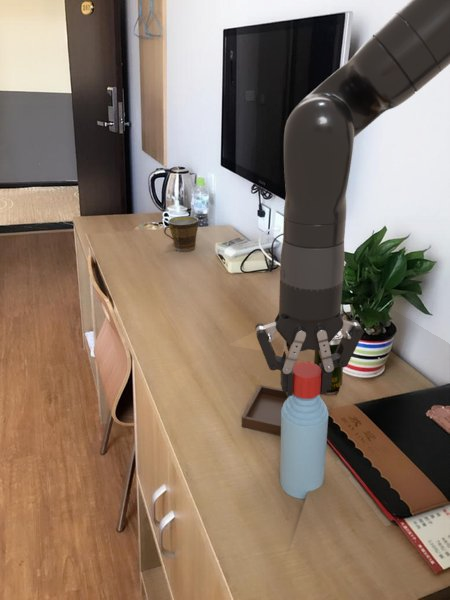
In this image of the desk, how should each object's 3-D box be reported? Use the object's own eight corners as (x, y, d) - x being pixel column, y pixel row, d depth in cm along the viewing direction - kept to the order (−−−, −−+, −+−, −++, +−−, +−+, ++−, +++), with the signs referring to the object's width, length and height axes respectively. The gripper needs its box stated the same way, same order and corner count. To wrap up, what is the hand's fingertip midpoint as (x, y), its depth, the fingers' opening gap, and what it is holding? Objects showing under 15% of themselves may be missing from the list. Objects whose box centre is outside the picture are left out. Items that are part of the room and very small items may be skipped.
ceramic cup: (187, 242, 177) (185, 214, 172) (206, 248, 170) (204, 219, 166) (157, 251, 169) (154, 222, 165) (175, 258, 162) (173, 228, 158)
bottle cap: (325, 389, 68) (327, 368, 66) (309, 402, 65) (311, 381, 64) (301, 378, 70) (302, 358, 69) (285, 391, 68) (285, 370, 66)
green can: (309, 381, 98) (311, 327, 93) (335, 378, 99) (339, 324, 94) (318, 397, 93) (321, 341, 88) (345, 393, 94) (350, 338, 89)
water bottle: (327, 472, 76) (334, 366, 68) (318, 504, 71) (325, 393, 63) (286, 462, 78) (288, 358, 70) (274, 492, 73) (276, 383, 65)
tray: (318, 405, 91) (319, 396, 90) (305, 441, 83) (306, 431, 82) (259, 393, 95) (259, 384, 94) (241, 426, 86) (241, 417, 86)
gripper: (361, 260, 64) (350, 374, 71) (249, 264, 64) (250, 378, 71) (379, 284, 57) (365, 406, 65) (255, 289, 57) (255, 411, 64)
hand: (305, 391), depth 68 cm, fingers closed on bottle cap, 4 cm apart
